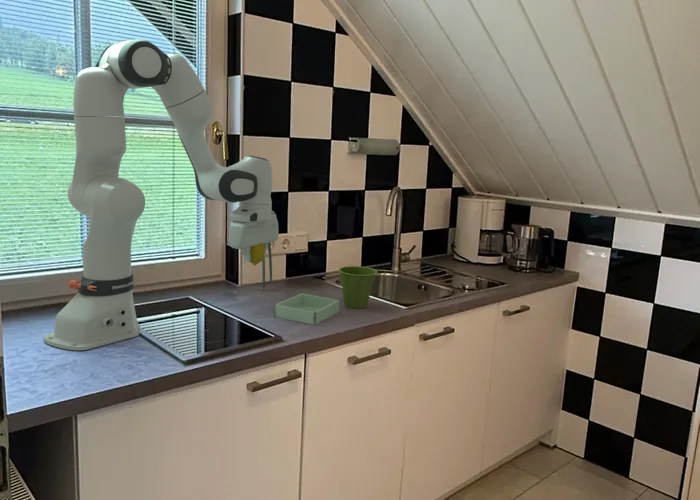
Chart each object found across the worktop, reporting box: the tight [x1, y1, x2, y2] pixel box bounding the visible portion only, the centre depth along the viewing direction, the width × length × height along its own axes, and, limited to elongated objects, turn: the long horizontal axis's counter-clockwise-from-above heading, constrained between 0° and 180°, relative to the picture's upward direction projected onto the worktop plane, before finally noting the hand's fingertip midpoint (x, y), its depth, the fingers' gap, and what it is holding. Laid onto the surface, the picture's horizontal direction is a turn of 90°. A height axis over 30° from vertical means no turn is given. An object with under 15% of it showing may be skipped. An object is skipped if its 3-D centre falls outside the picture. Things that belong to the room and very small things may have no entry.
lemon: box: [249, 243, 266, 266], centre depth 174 cm, size 6×6×8 cm
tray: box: [273, 293, 341, 326], centre depth 171 cm, size 15×13×4 cm
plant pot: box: [338, 265, 378, 310], centre depth 181 cm, size 12×12×11 cm
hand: (254, 259), depth 174 cm, fingers closed on lemon, 5 cm apart
